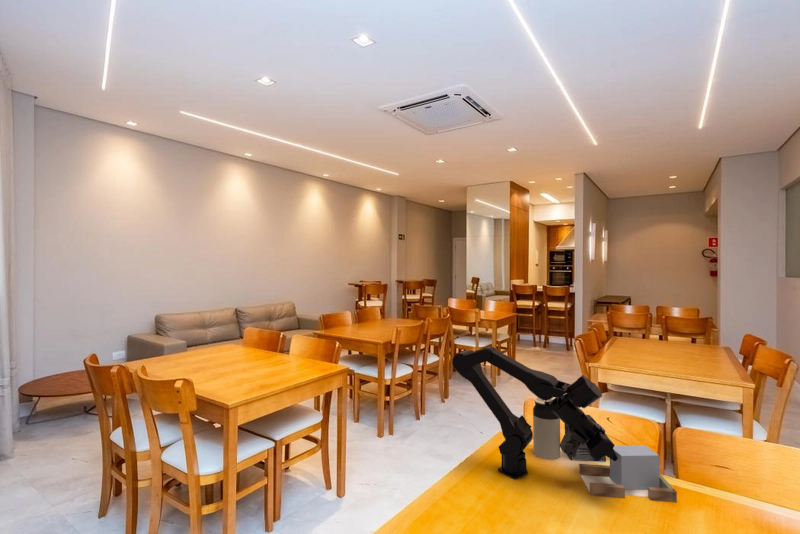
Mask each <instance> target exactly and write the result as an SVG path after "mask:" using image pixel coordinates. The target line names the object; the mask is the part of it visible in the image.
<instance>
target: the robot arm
mask: <svg viewBox="0 0 800 534" xmlns="http://www.w3.org/2000/svg"><path fill="white" fill-rule="evenodd" d="M486 362H487V363H488V364H491V365H493V366H494V367H495V368H497V369H499V370H501V371H503V372H505V373H506V374H508V375H509V376H511V377H513V378H515V379H516V380H518V381H519V382H521V383H522V384H523V385H525V387H526V388H527V389H528V390H529V391H530V392H531V393H532V394H533V395H534V396H536V397H538V398H540V399H542V400H549V399H551V398H555V399H553V400H552V401H549V402H546V401H545V403H544V407H545V415H548V414H549V413H551V412H552V411H553V412H554V413H555V414H556V415H557V416H558V417H559V418H560V421H562V423H564V426H565V425H566V426H567V427H568V430H567V432H566V433H565V432H564V435H563V437H562V439H561V440H560V451H562V453H564V454H566V455H567V457H568V456H572V457H575V455H576V452H577V450H578V448H579V446H580V442H581V443H582V444H583V445H584V444H586V445H587V451H588V453H589V454H590V456H591V457H592V458H593V459H594V460H595V461H594V462H600V461H599V460H600V459H601V458H602V457H603V456H606V458H609V460H610V459H612V460H613V461H616V460H617V459H618V458H617V456H616V454H615V452H614V449H613V448H614V446H616V445H615V444H614V442H613V441H612V440H611V439H610V437H609V436H608V435H607V433H606V432H605V433H604V431H603V430H602V429H601V428H600V429H599V428H598V427H597V425H596V423H597V421H596V420H595V419H594V418H593V417H592V416H591V415H590V414H586V413H585V412H584V410H582V409H586V408H587V407H589V406H590V405H592V404H593V403H595V402H597V401H598V400H599V399H601V398H602V397H603V394H602V392H601V390H600V388H599V387H598V386H597V385H596V383H595V382H592V381H591V379H589V378H587V377H586V376H585V375H584V374H582V375H581V376H579V377H578V378H577V379H576V380H575V381H574V382H572V383H571V384H570V383H568V382H565V381H563V380H562V381H561V380H558V378H557V377H555V376H554V375H552V374H550V373H547V372H544V371H540V370H536V369H532V368H530V367H528V366H526V365H525V364H523V363H521V362H519V361H517V360H515V359H514V358H512V357H510V356H508V355H506V354H505V353H503V352H502V351H500V350H498V349H497V348H495V347H494V346H491V345H490V346H486V347H485V348H481V349H477V350H474V351H473V350H468V349H466V350H464V351H461V352H458V353H456V354H455V355H454V356H453V358H452V362H451V364H452V365H451V366H452V368H453V369H455V371H456V372H457V373H458V374H459V375H460V376H461V377H462V378H464V379H465V380H467V381H468V382H470V383H471V386H473V388H474V389H475V390H476V391H477V393H478V394H479V396H480V398H481V399H482V400H483V402H484V403H485V404H486V405H487V406H486V407H488V409H489V410H490V411H491V413H492V414H493V416H494V417H495V418H496V420H497V421H498V423H499V425H500V429H501V432H502V437H504V440H503V442H502V443H501V444H500V445H499V446H498V451H499V454H500V457H501V458H500V459H501V466H500V467H498V468H497V471H499V472H501V473H502V474H505V475H506V476H508V477H509V478H512V479H514V480H515V479H519V478H521V477H523V476H525V475H527V474H528V470H527V458H526V452H525V451H524V450H525V449H526V448H527V447H528V446H529V445H530V443H531V442H532V440H533V429H532V427H533V425H532V426H531V425H530V424H529V423H528V421H527V420H526V418H525V417H524V415H523V414H522V415H520V416H519V417H518V416H517V415H515V414H514V413H513V412H512V411H511V409H510V408H509V406H507V404H506V402H505V401H504V400H503V399H502V397H501V395H500V394H499V393H498V392H497V390H496V389H495V387H494V386H493V385H492V383H491V382H490V381H489V380H488V378H487V377H486V375H485V374H484V371H483V367H482V363H486ZM581 408H582V409H581Z"/></svg>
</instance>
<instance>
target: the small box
mask: <svg viewBox="0 0 800 534" xmlns="http://www.w3.org/2000/svg"><path fill="white" fill-rule="evenodd" d="M596 425H597V427H598V428H599V429H600V428H601V429H602V430H603V431H604V433H605V434H606V429H605V428H604V427H603V426H602V425H601V424H599V423H596ZM567 430H568V427H567V426H566V425H565V424H564V434H565V433H566V432H567ZM567 457H568V459H569V460H570V461H573V462H574V461H576V462H577V461H579V462H580V461H581V462H596V461H595V460H594V459H593V458H592V457H591V456H590V454H589V453H588V451H587V445H586V444H584V445H583V444H582V443H581V442H580V446H579V448H578V450H577V452H576V455H575V457H572V456H567ZM598 462H605V463H606V462H607V456H603V457H602V458H601V459H600V460H599V461H598Z"/></svg>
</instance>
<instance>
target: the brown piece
mask: <svg viewBox="0 0 800 534" xmlns="http://www.w3.org/2000/svg"><path fill="white" fill-rule="evenodd" d="M578 468H579V469H578V472H579V475H580V477H581V479H582V481H583V483H584V485H585V486H586V488H587V490H588V492H589V494H590V495H591V497H592V496H593V497H607V498H618V499H625V498H626V496H631V497H645V498H646V497H647V498H648V499H649V500H650V501H655V502H656V501H657V502H658V501H659V502H669V503H671V502H672V503H677V502H678V499H677V498H678V496H677V494H678V493H677V490H676V489H675V488H674V487H673V486H672V485H671V483H669V482H668V481H667V479H666V478H665V477H664V476H663V475H662V474H661V473H660V472H659V488H656V487H648V490H625V488H624V486H623V485H616V484H615V483H614V482H613V481H612V480H611V479H610V465H605V464H604V465H603V464H588V463H579V464H578Z"/></svg>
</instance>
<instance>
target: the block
mask: <svg viewBox="0 0 800 534" xmlns="http://www.w3.org/2000/svg"><path fill="white" fill-rule="evenodd" d="M613 449H614V452H615V454H616V456H617V458H618V459H617V460H616V461H613V460H612V459H610V458H609V466H610V479H611V480H612V481H613V482H614V483H615V484H616V485H623V486H624V488H625V490H648V487H656V488H659V473H660V455H659V454H658V453H656V452H655V451H654V450H653V449H651V448H650V447H648V446H647V445H615V446H614V448H613Z"/></svg>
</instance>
